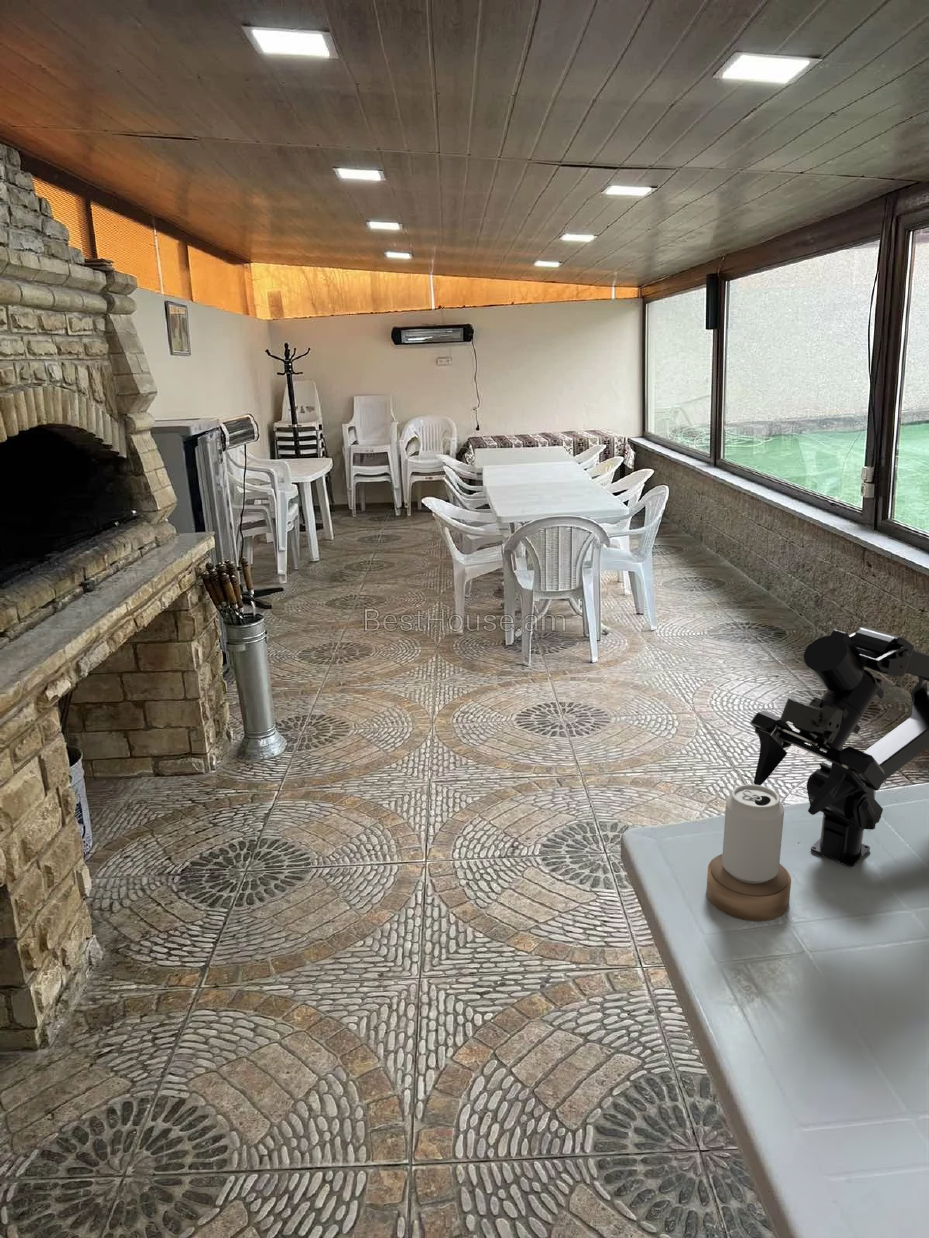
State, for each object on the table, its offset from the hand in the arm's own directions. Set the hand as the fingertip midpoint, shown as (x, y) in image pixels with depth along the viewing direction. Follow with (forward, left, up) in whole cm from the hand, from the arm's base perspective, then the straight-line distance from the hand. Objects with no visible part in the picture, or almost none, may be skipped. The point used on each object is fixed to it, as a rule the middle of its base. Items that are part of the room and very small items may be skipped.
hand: (782, 798), depth 119 cm
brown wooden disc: (+5, -1, -14) cm, 15 cm away
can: (+5, -1, -10) cm, 11 cm away
